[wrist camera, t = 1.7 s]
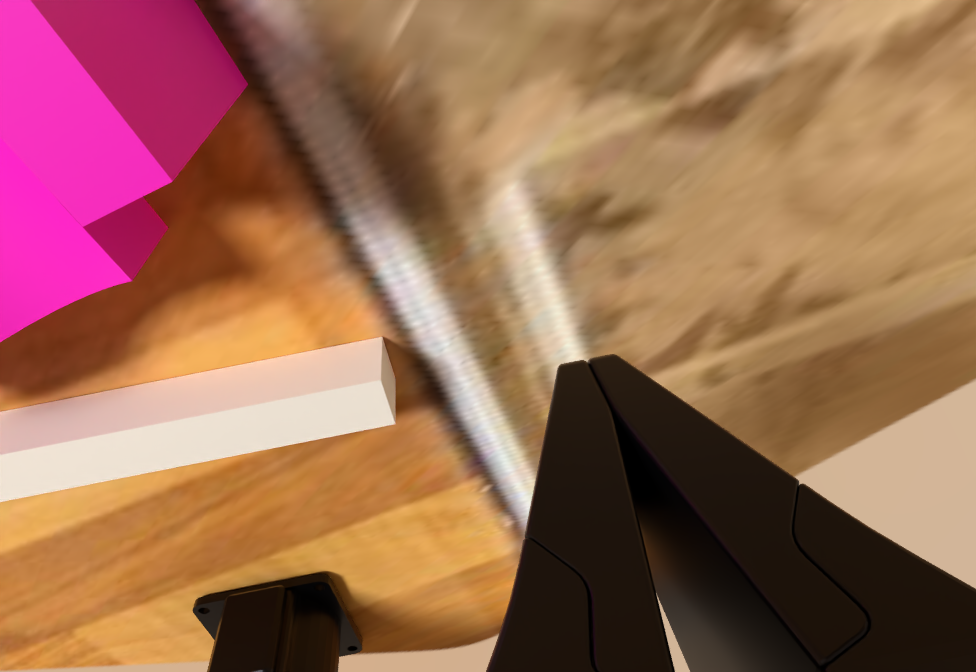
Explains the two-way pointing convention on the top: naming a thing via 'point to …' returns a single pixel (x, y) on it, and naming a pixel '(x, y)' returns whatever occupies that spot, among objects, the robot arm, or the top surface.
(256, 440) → the chute
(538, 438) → the top surface
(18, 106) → the toy block
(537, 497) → the robot arm
